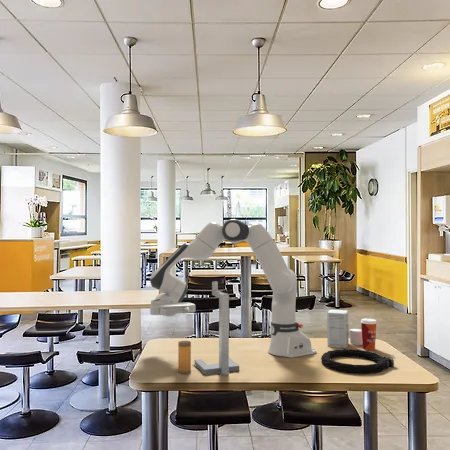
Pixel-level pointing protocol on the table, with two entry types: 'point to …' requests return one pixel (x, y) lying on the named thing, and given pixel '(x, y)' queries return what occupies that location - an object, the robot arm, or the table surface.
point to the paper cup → (368, 333)
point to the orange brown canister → (184, 357)
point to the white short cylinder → (355, 336)
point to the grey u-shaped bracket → (214, 367)
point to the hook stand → (223, 329)
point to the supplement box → (337, 328)
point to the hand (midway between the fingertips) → (176, 311)
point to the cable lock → (359, 369)
